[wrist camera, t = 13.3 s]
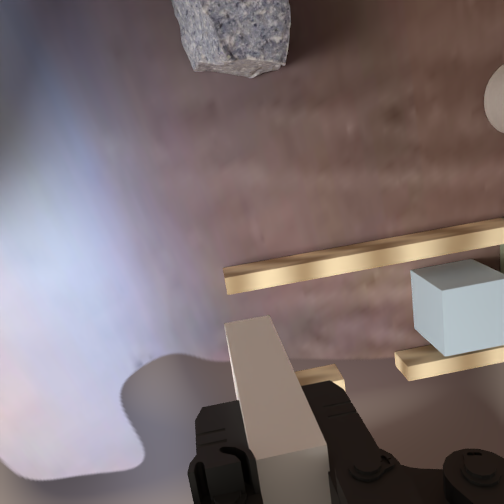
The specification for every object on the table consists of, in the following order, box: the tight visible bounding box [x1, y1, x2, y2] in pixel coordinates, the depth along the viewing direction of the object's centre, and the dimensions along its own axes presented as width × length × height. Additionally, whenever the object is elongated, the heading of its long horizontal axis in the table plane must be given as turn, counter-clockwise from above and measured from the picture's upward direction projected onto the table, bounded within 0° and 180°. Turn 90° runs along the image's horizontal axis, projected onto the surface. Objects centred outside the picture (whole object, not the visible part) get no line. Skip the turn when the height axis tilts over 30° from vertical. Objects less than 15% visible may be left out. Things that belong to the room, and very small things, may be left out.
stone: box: [171, 0, 291, 78], centre depth 33 cm, size 12×10×10 cm
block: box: [411, 259, 504, 357], centre depth 43 cm, size 6×6×6 cm
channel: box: [223, 217, 504, 391], centre depth 43 cm, size 28×13×4 cm, turn 99°
